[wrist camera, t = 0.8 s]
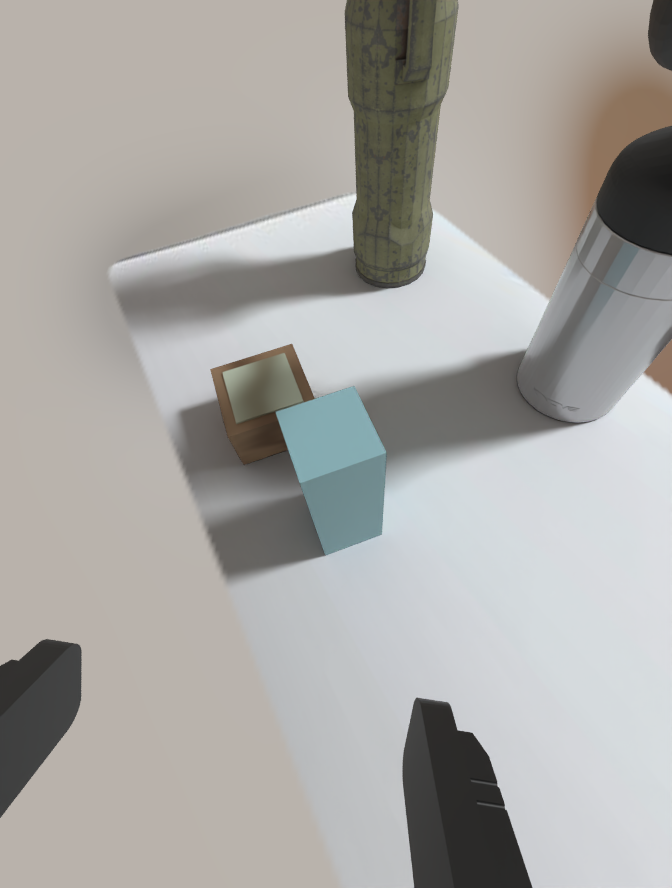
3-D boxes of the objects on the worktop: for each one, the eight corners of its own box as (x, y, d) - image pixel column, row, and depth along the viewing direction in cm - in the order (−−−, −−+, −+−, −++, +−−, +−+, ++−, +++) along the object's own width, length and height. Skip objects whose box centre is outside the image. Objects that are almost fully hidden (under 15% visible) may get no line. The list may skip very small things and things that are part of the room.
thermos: (373, 304, 49) (376, -315, 19) (341, 247, 55) (303, -294, 25) (443, 284, 50) (553, -340, 20) (404, 229, 56) (442, -313, 25)
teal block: (360, 483, 37) (354, 385, 25) (381, 534, 35) (386, 452, 23) (307, 502, 37) (275, 411, 25) (325, 555, 34) (299, 483, 22)
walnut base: (299, 377, 44) (291, 342, 40) (324, 437, 40) (317, 405, 36) (226, 401, 43) (209, 368, 39) (243, 464, 39) (227, 436, 35)
